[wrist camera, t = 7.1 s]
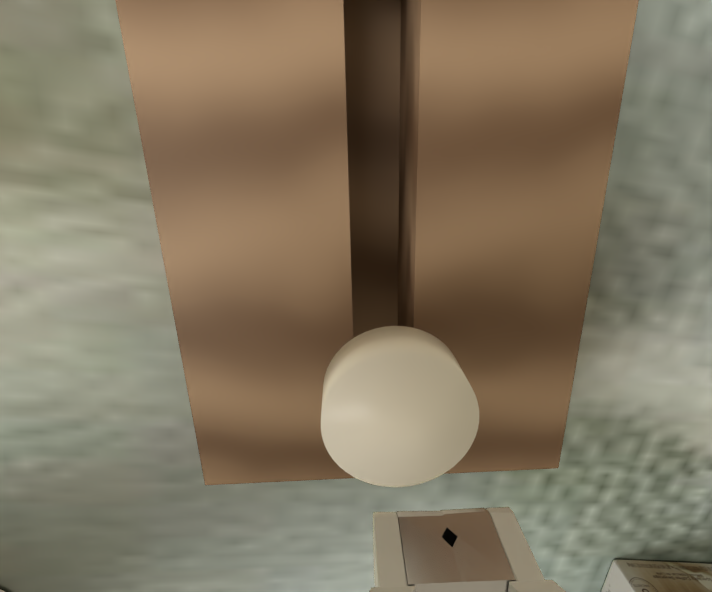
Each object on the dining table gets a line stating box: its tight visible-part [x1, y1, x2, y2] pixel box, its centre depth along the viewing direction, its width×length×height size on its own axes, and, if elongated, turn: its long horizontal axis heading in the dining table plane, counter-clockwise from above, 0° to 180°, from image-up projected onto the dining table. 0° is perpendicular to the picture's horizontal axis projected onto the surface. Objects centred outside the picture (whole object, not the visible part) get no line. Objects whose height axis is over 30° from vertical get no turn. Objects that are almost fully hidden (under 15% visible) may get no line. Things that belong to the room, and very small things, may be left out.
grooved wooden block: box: [116, 0, 639, 485], centre depth 18 cm, size 30×17×6 cm, turn 1°
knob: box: [321, 326, 479, 487], centre depth 16 cm, size 5×5×6 cm
